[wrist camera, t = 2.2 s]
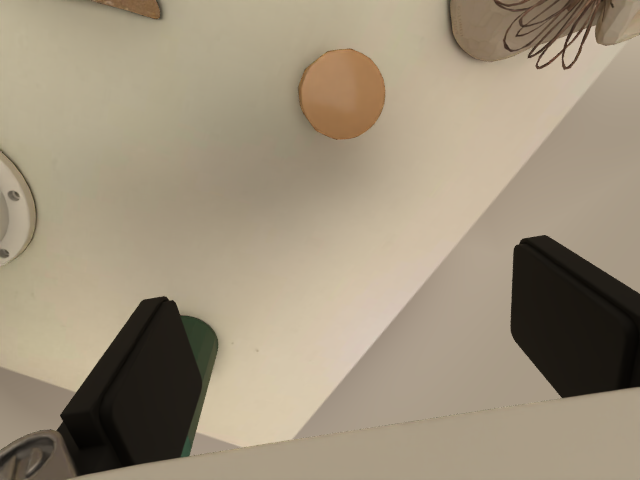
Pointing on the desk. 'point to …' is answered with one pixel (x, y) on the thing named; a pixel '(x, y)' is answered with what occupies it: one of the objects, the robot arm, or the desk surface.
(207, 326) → the bottle
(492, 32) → the figurine
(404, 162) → the desk surface
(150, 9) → the fossil
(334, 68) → the grooved wooden cylinder
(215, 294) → the desk surface
